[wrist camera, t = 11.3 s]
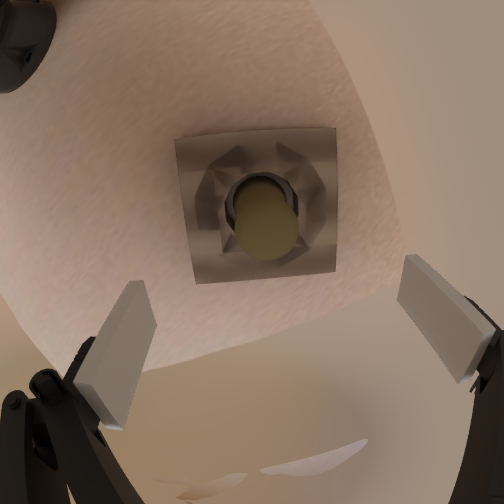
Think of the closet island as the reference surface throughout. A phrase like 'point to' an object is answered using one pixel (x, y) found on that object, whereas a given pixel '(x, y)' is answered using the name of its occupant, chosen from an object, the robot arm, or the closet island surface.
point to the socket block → (255, 161)
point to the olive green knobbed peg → (264, 219)
